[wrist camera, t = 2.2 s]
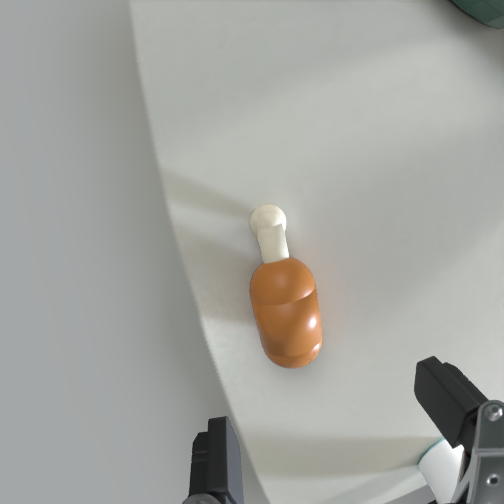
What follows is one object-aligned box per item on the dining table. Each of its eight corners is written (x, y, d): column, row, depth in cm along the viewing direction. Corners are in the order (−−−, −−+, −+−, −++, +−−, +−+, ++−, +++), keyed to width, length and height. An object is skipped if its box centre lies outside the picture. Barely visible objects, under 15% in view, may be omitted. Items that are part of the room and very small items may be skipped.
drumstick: (230, 209, 19) (231, 221, 16) (292, 195, 20) (309, 203, 16) (264, 353, 22) (271, 386, 19) (317, 339, 23) (332, 371, 19)
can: (410, 472, 30) (443, 533, 19) (425, 442, 29) (466, 510, 17) (450, 455, 31) (485, 509, 19) (466, 424, 29) (510, 481, 17)
